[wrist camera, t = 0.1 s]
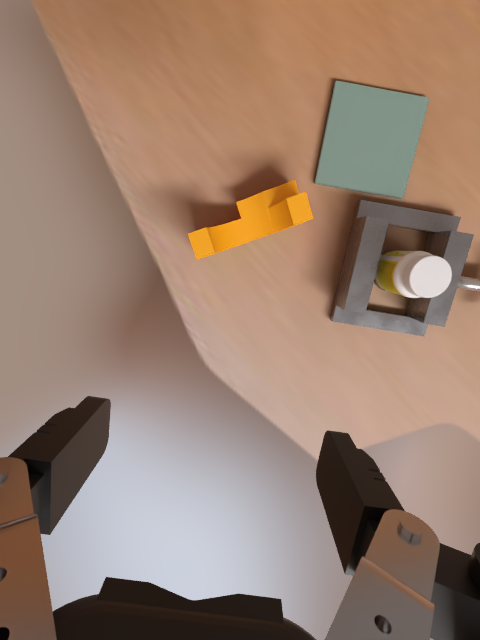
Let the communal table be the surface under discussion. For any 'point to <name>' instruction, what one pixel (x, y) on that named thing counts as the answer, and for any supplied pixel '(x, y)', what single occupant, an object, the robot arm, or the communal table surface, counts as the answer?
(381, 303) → the communal table surface
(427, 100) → the mat
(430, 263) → the supplement bottle
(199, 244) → the pipe clamp
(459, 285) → the vise
